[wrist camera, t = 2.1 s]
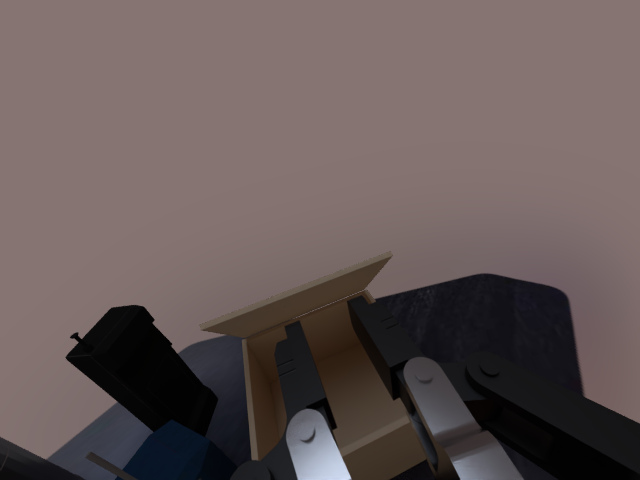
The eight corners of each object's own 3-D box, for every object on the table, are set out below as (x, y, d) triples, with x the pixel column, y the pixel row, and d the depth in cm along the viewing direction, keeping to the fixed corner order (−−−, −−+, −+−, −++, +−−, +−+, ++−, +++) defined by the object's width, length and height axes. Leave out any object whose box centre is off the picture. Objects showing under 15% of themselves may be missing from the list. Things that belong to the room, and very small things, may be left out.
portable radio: (189, 392, 46) (95, 288, 32) (221, 390, 45) (137, 283, 32) (165, 446, 39) (34, 344, 26) (201, 446, 38) (85, 339, 25)
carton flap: (392, 255, 26) (389, 250, 26) (201, 330, 23) (199, 323, 23) (363, 289, 41) (362, 286, 41) (244, 337, 38) (243, 333, 38)
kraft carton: (444, 449, 32) (450, 401, 26) (291, 533, 29) (255, 501, 23) (373, 337, 47) (366, 289, 41) (267, 384, 44) (241, 340, 38)
